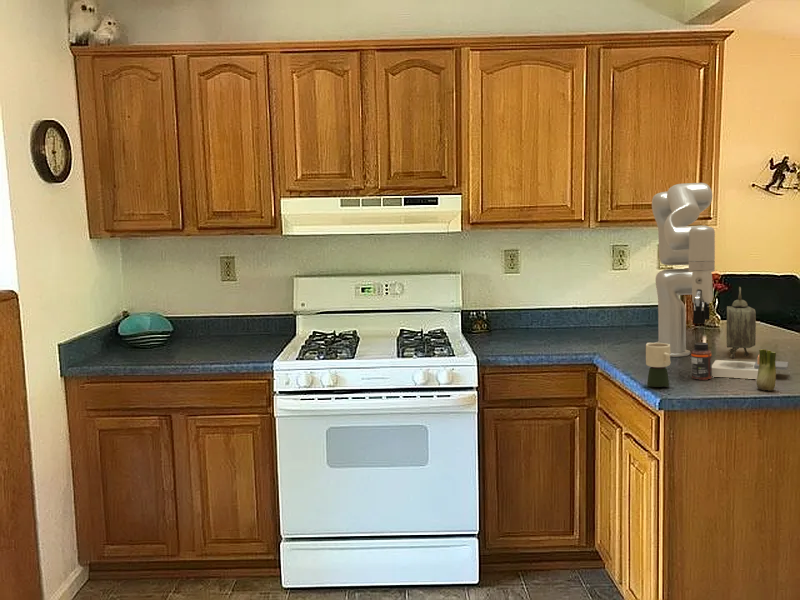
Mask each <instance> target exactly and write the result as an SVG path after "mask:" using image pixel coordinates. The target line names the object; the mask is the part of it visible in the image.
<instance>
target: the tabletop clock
mask: <svg viewBox="0 0 800 600" xmlns="http://www.w3.org/2000/svg"><path fill="white" fill-rule="evenodd" d="M756 314H757V313H756V309H755V308H753V307H751V306H749V305H748V302H747V301H746V300H744V299H742V287H741V286H738V297H737V299H736V300H734V301H733V302H732V304H731V306H730V305H729V306H728V305H727V306H726V347H727V348H730V349H729V353H730V356H729V357H730V359H735V358H736V352H737V351H738V349H742V348H743V350H744V352H743V353H744V356H745V357H749V355H750V353H749V352H748V351H747V349H750V348H753V347H755V346H756V344H757V343H756V342H757V341H756V338H757V336H756V334H757V333H756V331H757V329H756V328H757V325H756V324H757V320H756V319H757V316H756Z"/></svg>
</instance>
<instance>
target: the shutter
mask: <svg viewBox="0 0 800 600" xmlns="http://www.w3.org/2000/svg"><path fill="white" fill-rule="evenodd" d="M755 362H756V363H755V365H754V368H759V354H758V355H757V360H756V361H755ZM775 365H776V370H784V371H785V370H786V371H787V370H788V366H789V361H780V360H779V361H777V360H775Z"/></svg>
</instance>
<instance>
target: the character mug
mask: <svg viewBox="0 0 800 600" xmlns="http://www.w3.org/2000/svg"><path fill="white" fill-rule="evenodd" d="M670 353H671V351H670V344H665V343H656V342H652V343H650V344H647V343H646V344H645V366H647V367H649V369H648V375H647V386H648V387H653V388H656V387H657V388H658V387H659V388H660V387H662V388H663V387H670V381H669V380H670V379H669V378H670V377H669V373H668V369H667V368H666V367H668V366H670V365H671V364H672V363H671V357H670Z"/></svg>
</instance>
